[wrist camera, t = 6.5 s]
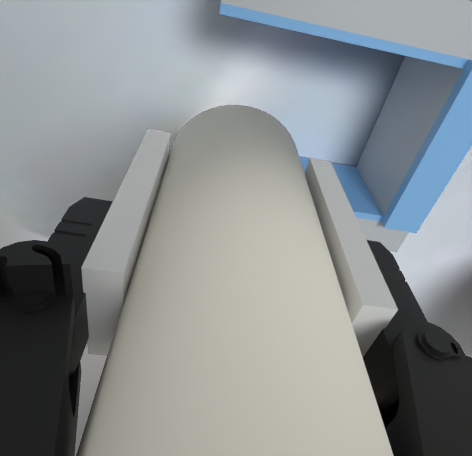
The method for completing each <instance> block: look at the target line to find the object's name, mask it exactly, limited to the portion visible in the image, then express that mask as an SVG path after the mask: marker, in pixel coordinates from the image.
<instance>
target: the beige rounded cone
mask: <svg viewBox="0 0 472 456" xmlns="http://www.w3.org/2000/svg"><path fill="white" fill-rule="evenodd" d="M76 456H394V455H393V452H392V449H391V446H390V443H389V440H388V436H387V433H386V430H385V427H384V424H383V421H382V418H381V414H380V411H379V408H378V405H377V402H376V399H375V395H374V392H373V389H372V386H371V383H370V380H369V376H368V373H367V370H366V367H365V364H364V361H363V357H362V354H361V351H360V348H359V345H358V342H357V338H356V335H355V332H354V329H353V326H352V323H351V319H350V316H349V313H348V310H347V307H346V304H345V301H344V297H343V294H342V291H341V288H340V285H339V282H338V278H337V275H336V272H335V269H334V266H333V263H332V259H331V256H330V253H329V250H328V247H327V244H326V240H325V237H324V234H323V231H322V228H321V225H320V221H319V218H318V215H317V212H316V209H315V206H314V202H313V199H312V196H311V193H310V190H309V187H308V184H307V180H306V177H305V174H304V171H303V168H302V165H301V161H300V158H299V155H298V152H297V149H296V146H295V143H294V141H293V139H292V137H291V135H290V134H289V132H288V131H287V129H286V128H285V127H284V126H283V125H282V124H281V123H280V122H279V121H278V120H277V119H275V118H274V117H273V116H271V115H269V114H267V113H266V112H264V111H261V110H259V109H256V108H252V107H249V106H242V105H226V106H219V107H216V108H212V109H209V110H207V111H204V112H202V113H200V114H199V115H197V116H195V117H194V118H193V119H191V120H190V121H189V122H188V123H187V124H186V125H185V126H184V127H183V128H182V129H181V131H180V132H179V134H178V135H177V137H176V139H175V141H174V143H173V146H172V149H171V152H170V155H169V159H168V162H167V165H166V169H165V172H164V175H163V178H162V181H161V185H160V188H159V191H158V194H157V198H156V201H155V204H154V207H153V210H152V214H151V217H150V220H149V223H148V227H147V230H146V233H145V236H144V240H143V243H142V246H141V249H140V252H139V256H138V259H137V262H136V265H135V269H134V272H133V275H132V278H131V281H130V285H129V288H128V291H127V294H126V298H125V301H124V304H123V307H122V310H121V313H120V317H119V320H118V323H117V326H116V329H115V333H114V336H113V339H112V342H111V346H110V349H109V352H108V355H107V359H106V362H105V365H104V368H103V371H102V375H101V378H100V381H99V384H98V388H97V391H96V394H95V398H94V401H93V404H92V407H91V410H90V413H89V417H88V420H87V423H86V426H85V429H84V433H83V436H82V439H81V442H80V446H79V449H78V452H77V455H76Z"/></svg>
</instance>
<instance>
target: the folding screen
mask: <svg viewBox="0 0 472 456" xmlns="http://www.w3.org/2000/svg"><path fill="white" fill-rule="evenodd" d="M219 14H222V15H226V16H231V17H235V18H240V19H244V20H248V21H253V22H257V23H262V24H266V25H271V26H275V27H280V28H284V29H288V30H293V31H297V32H302V33H306V34H311V35H315V36H320V37H324V38H329V39H333V40H337V41H342V42H346V43H351V44H355V45H360V46H364V47H369V48H373V49H378V50H382V51H386V52H391V53H395V54H400V55H404V56H405V57H404V60H403V62H402V64H401V66H400V69H399V71H398V73H397V76H396V78H395V80H394V82H393V85H392V87H391V89H390V91H389V94H388V96H387V98H386V100H385V103H384V105H383V107H382V109H381V112H380V114H379V116H378V118H377V121H376V123H375V125H374V128H373V130H372V132H371V134H370V137H369V139H368V141H367V143H366V146H365V148H364V150H363V152H362V155H361V157H360V159H359V161H358V164H357V166H356V167H355V166H349V165H344V164H338V163H333V162H331V164H332V166H333V168H334V170H335V172H336V175H337V177H338V179H339V181H340V183H341V186H342V188H343V190H344V192H345V194H346V197H347V199H348V201H349V203H350V205H351V207H352V210H353V212H354V214H355V216H356V218H357V221H358V223H359V225H360V227H361V229H362V232H363V234H364V236H365V238H366V240H371V241H377V242H380V243H381V244H382V245H383V246H384V247H385V248H386V249H387V250H388V251H394V252H397V251H398V249H399V247H400V246H401V244H402V243H403V241H404V239H405V238H406V236H407V234H408V233H409V232H412V233H417V231H418V229H419V228H420V226H421V225H422V223H423V221H424V220H425V218H426V217H427V215H428V214H429V212H430V210H431V209H432V207H433V206H434V204H435V202H436V201H437V199H438V198H439V196H440V195H441V193H442V191H443V190H444V188H445V187H446V185H447V183H448V182H449V180H450V179H451V177H452V176H453V174H454V172H455V171H456V169H457V168H458V166H459V164H460V163H461V161H462V160H463V158H464V157H465V155H466V153H467V152H468V150H469V149H470V147H471V145H472V0H221V4H220V10H219ZM299 158H300V161H301V165H302V168H303V171H304V172H305V169H306V167H307V164H308V161H309V158H305V157H300V156H299Z"/></svg>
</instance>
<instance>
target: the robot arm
mask: <svg viewBox="0 0 472 456" xmlns="http://www.w3.org/2000/svg"><path fill="white" fill-rule="evenodd" d="M170 140H171V132H165V131H160V130H154V129H149V128H148V129H147V131H146V133H145V135H144V137H143V140H142V142H141V144H140V146H139V148H138V150H137V152H136V154H135V156H134V158H133V161H132V163H131V165H130V167H129V169H128V171H127V173H126V175H125V177H124V179H123V181H122V184H121V186H120V188H119V190H118V192H117V194H116V196H115V198H114V200H113V201H106V200H100V199H93V198H87V197H84V198H82V199H81V200H79V201H78V202H76V203H75V204H73V205H72V206H70V207H69V209H68V210H67V212H66V213H65V215H64V216H63V218H62V221H61V222H60V223H59V224H58V226H57V227H56V229H55V232H54V233H53V234H52V235H51V237H50V238H49V240H48V242H46V241H38V240H32V241H23V242H17V243H14V244H11V245H9V246H6V247H3V248H1V249H0V456H74V455H75V443H76V430H77V418H78V406H79V393H80V381H81V365H80V360H81V357H82V354H83V351H84V349H85V346H86V343H87V344H88V353H89V354H97V355H108V352H109V349H110V346H111V342H112V339H113V336H114V333H115V329H116V326H117V323H118V320H119V317H120V313H121V310H122V307H123V304H124V301H125V298H126V294H127V291H128V288H129V285H130V281H131V278H132V275H133V272H134V269H135V265H136V262H137V259H138V256H139V252H140V249H141V246H142V243H143V240H144V236H145V233H146V230H147V227H148V223H149V220H150V217H151V214H152V210H153V207H154V204H155V201H156V198H157V194H158V191H159V188H160V185H161V181H162V178H163V175H164V172H165V169H166V165H167V162H168V159H169V150H170ZM304 174H305V177H306V180H307V184H308V187H309V190H310V193H311V196H312V199H313V202H314V206H315V209H316V212H317V215H318V218H319V221H320V225H321V228H322V231H323V234H324V237H325V240H326V244H327V247H328V250H329V253H330V256H331V259H332V263H333V266H334V269H335V272H336V275H337V278H338V282H339V285H340V288H341V291H342V294H343V297H344V301H345V304H346V307H347V310H348V313H349V316H350V319H351V323H352V326H353V329H354V332H355V335H356V338H357V342H358V345H359V348H360V351H361V354H362V357H363V361H364V364H365V367H366V370H367V373H368V376H369V380H370V383H371V386H372V389H373V392H374V395H375V399H376V402H377V405H378V408H379V411H380V414H381V418H382V421H383V424H384V427H385V430H386V433H387V436H388V440H389V443H390V446H391V449H392V452H393V455H394V456H472V358H471V357H468V356H466V355H465V354H464V352H463V350H462V348H461V346H460V345H459V344H458V343H457V341H456V340H455V339H454V338H453V337H452V336H451V335H450V334H448V333H447V332H446V331H444V330H443V329H442V328H440V327H438V326H436V325H434V324H431V323H429V322H427V320H426V318H425V316H424V314H423V312H422V310H421V308H420V306H419V304H418V302H417V301H416V299H415V297H414V295H413V293H412V291H411V289H410V287H409V285H408V283H407V282H405V278H404V276H403V274H402V272H401V271H399V266H398V264H397V262H396V260H395V258H394V256H393V255H392V254H391V253H390V252H389V251H388V250H387V249H386V248H385V247H384V246H383V245H382V244H381V243H380V242H377V241H371V240H366V238H365V236H364V234H363V232H362V229H361V227H360V225H359V223H358V221H357V218H356V216H355V214H354V212H353V210H352V207H351V205H350V203H349V201H348V199H347V197H346V194H345V192H344V190H343V188H342V186H341V183H340V181H339V179H338V177H337V175H336V172H335V170H334V168H333V166H332V164H331V162H330V161H325V160H319V159H314V158H309V161H308V164H307V167H306V169H305V172H304Z"/></svg>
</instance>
